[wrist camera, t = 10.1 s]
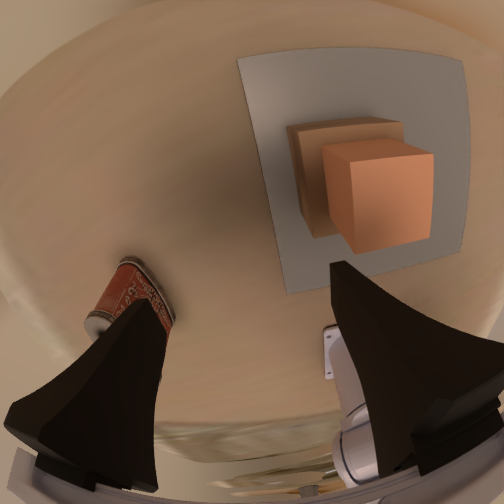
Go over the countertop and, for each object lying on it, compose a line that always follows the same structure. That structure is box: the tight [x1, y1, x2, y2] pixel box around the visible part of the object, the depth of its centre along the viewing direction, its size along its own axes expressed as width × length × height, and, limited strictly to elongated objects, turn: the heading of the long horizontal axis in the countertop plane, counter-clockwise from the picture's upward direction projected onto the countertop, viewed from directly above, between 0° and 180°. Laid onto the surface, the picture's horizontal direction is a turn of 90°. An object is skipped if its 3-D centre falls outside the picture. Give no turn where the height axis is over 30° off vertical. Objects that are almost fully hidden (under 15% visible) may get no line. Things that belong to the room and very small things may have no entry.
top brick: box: [321, 138, 434, 255], centre depth 12 cm, size 4×4×4 cm
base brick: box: [286, 117, 404, 239], centre depth 15 cm, size 6×6×4 cm
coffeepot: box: [299, 485, 318, 498], centre depth 74 cm, size 15×9×18 cm, turn 77°
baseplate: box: [237, 47, 471, 295], centre depth 17 cm, size 18×18×1 cm
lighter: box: [84, 256, 176, 385], centre depth 19 cm, size 8×3×10 cm, turn 17°
